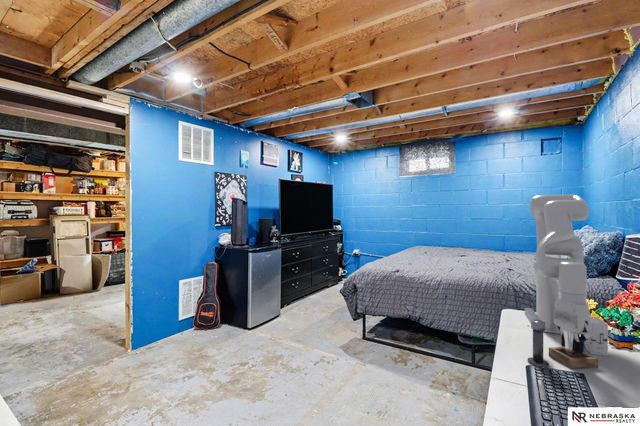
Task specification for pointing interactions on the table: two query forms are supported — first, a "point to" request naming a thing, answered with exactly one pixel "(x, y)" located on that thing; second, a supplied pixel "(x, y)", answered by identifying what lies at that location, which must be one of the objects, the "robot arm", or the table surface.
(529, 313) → the lever
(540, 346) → the post
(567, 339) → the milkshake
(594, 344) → the ink box
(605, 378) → the table surface
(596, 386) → the table surface
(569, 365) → the square wooden tray
